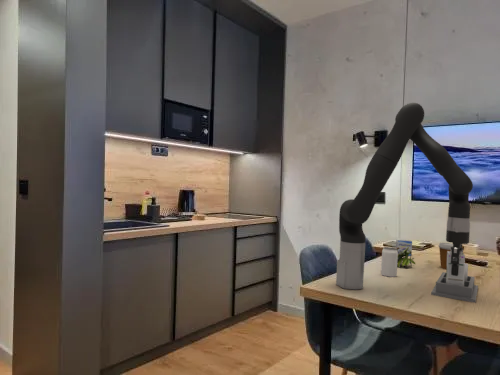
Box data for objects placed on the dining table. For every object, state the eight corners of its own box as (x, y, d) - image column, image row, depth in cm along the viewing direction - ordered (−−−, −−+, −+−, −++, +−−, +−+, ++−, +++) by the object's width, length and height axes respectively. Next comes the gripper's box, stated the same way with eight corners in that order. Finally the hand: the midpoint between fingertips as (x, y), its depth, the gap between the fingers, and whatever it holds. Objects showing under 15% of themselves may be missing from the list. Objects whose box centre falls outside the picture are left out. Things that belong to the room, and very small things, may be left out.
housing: (475, 302, 131) (477, 268, 131) (431, 294, 139) (432, 262, 138) (477, 288, 151) (479, 258, 151) (439, 281, 159) (440, 253, 159)
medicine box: (397, 255, 217) (397, 240, 217) (395, 254, 222) (396, 239, 221) (411, 256, 216) (412, 241, 216) (409, 255, 220) (410, 240, 220)
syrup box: (464, 294, 137) (466, 254, 137) (445, 292, 139) (447, 252, 139) (462, 290, 142) (464, 252, 142) (444, 288, 145) (446, 250, 144)
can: (397, 277, 162) (399, 250, 162) (382, 276, 164) (383, 248, 164) (395, 274, 169) (396, 247, 169) (379, 273, 170) (381, 246, 170)
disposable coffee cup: (454, 271, 180) (455, 246, 180) (433, 267, 187) (435, 243, 187) (462, 269, 187) (463, 245, 186) (442, 265, 194) (443, 242, 194)
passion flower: (395, 275, 191) (395, 253, 197) (418, 275, 185) (417, 252, 191) (389, 265, 183) (389, 243, 190) (413, 264, 178) (412, 242, 184)
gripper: (448, 227, 148) (446, 268, 149) (444, 230, 136) (442, 275, 137) (470, 229, 144) (468, 271, 144) (468, 232, 132) (466, 278, 132)
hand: (455, 273), depth 141 cm, fingers open, 8 cm apart
